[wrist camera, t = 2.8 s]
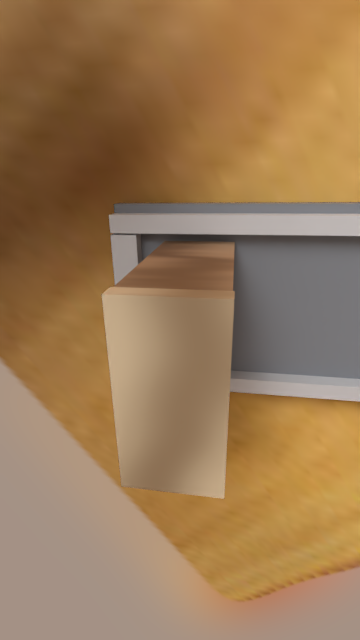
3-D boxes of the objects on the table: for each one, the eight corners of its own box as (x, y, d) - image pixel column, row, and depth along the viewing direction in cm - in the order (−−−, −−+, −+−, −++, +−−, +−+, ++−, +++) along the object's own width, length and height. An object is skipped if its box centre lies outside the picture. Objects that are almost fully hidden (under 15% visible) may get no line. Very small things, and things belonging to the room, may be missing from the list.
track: (132, 374, 25) (124, 389, 24) (119, 203, 21) (107, 205, 19) (462, 398, 22) (482, 417, 20) (533, 201, 18) (567, 204, 16)
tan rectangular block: (167, 362, 23) (121, 486, 14) (163, 239, 20) (101, 294, 11) (229, 366, 22) (224, 498, 13) (235, 240, 19) (234, 298, 10)
